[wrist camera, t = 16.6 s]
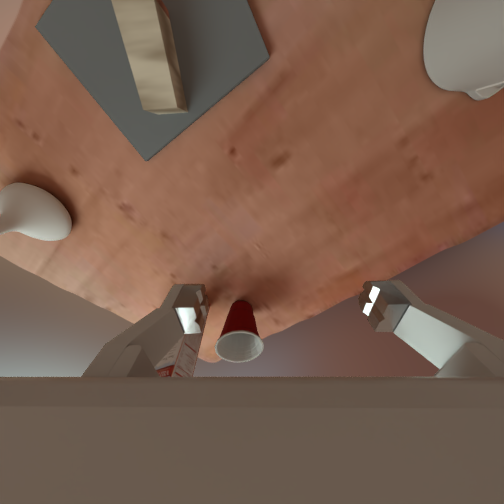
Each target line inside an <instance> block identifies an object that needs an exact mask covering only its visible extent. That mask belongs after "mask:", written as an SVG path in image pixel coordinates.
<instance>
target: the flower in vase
mask: <svg viewBox="0 0 504 504" xmlns="http://www.w3.org/2000/svg"><path fill="white" fill-rule="evenodd" d="M0 213H1V216H0V235H1V234H4V233H7V232H11V231H18V232H21V233H23V234H25V235H28V236H30V237H33V238H37V239H41V240H46V241H55V240H61V239H64V238H66V237H67V236H68V235H69V234H70V231H71V228H72V221H71V218H70V215H69V213H68V211H67V210H66V208H65V207H64V206H63V204H62V203H61V202H60V201H59V200H58V199H57V198H55V197H54V196H53V195H51V194H50V193H48V192H47V191H45V190H43V189H41V188H39V187H36V186H33V185H30V184H26V183H12V184H9V185H7V186H6V187H5V188H3V189H2V190H1V192H0Z"/></svg>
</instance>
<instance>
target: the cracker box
mask: <svg viewBox="0 0 504 504" xmlns="http://www.w3.org/2000/svg"><path fill="white" fill-rule="evenodd" d="M208 311H209V306H208ZM208 311H207V314H206V315H205V316H204V321H205V322H204V325H203V329H202V332H201V333H193V334H184V336H183V337H182V338H181V339H180V340H179V341H178V342H177V343H176V344H175V345H174V347H173V348H172V349H171V350H170V351H169V352H168V353H167V354H166V355H165V356H164V357H163V359H162V360H161V361H160V362H159V363H158V364H157V365H156V366H155V367H154V368H155V370H156V371H157V373H158V374H159V376H160V377H193V372H194V369H195V365H196V361H197V356H198V352H199V348H200V344H201V340H202V336H203V332H204V328H205V324H206V319H207V315H208Z"/></svg>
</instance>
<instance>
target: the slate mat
mask: <svg viewBox="0 0 504 504" xmlns="http://www.w3.org/2000/svg"><path fill="white" fill-rule="evenodd" d="M162 2H163V3H164V5H165V6H166V8H167V10H168V12H169V18H170V23H171V28H172V33H173V38H174V43H175V49H176V54H177V59H178V64H179V69H180V74H181V80H182V85H183V90H184V95H185V100H186V105H187V111H188V112H185V113H172V114H160V115H158V114H155V113H152V112H148V111H145V110H143V107H142V104H141V100H140V97H139V94H138V90H137V87H136V83H135V80H134V76H133V73H132V70H131V66H130V63H129V59H128V56H127V53H126V49H125V46H124V42H123V39H122V35H121V32H120V29H119V25H118V22H117V18H116V15H115V12H114V8H113V5H112V1H111V0H53V1H52V2H51V4H50V5H49V7H48V8H47V10H46V11H45V13H44V14H43V16H42V17H41V19H40V20H39V22H38V23H37V25H36V26H35V27H36V29H37V30H38V31H39V32H40V33H41V35H42V36H43V37H44V38H45V40H46V41H47V42H48V43H49V44H50V46H51V47H52V48H53V49H54V50H55V52H56V53H57V54H58V55H59V57H60V58H61V59H62V60H63V61H64V63H65V64H66V65H67V66H68V68H69V69H70V70H71V71H72V72H73V74H74V75H75V76H76V77H77V78H78V80H79V81H80V82H81V83H82V85H83V86H84V87H85V88H86V89H87V91H88V92H89V93H90V94H91V95H92V97H93V98H94V99H95V100H96V102H97V103H98V104H99V105H100V106H101V108H102V109H103V110H104V111H105V113H106V114H107V115H108V116H109V117H110V119H111V120H112V121H113V122H114V123H115V125H116V126H117V127H118V128H119V130H120V131H121V132H122V133H123V134H124V136H125V137H126V138H127V139H128V140H129V142H130V143H131V144H132V145H133V147H134V148H135V149H136V150H137V151H138V153H139V154H140V155H141V156H142V157H143V159H144V160H145V161H148V160H150V159H151V158H152V157H153V156H154V155H156V154H157V153H158V152H159V151H160V150H162V149H163V148H164V147H165V146H166V145H168V144H169V143H170V142H171V141H172V140H173V139H175V138H176V137H177V136H178V135H179V134H181V133H182V132H183V131H184V130H185V129H187V128H188V127H189V126H190V125H191V124H192V123H194V122H195V121H196V120H197V119H198V118H200V117H201V116H202V115H203V114H204V113H206V112H207V111H208V110H209V109H210V108H211V107H213V106H214V105H215V104H216V103H217V102H219V101H220V100H221V99H222V98H223V97H225V96H226V95H227V94H228V93H229V92H230V91H232V90H233V89H234V88H235V87H236V86H238V85H239V84H240V83H241V82H242V81H244V80H245V79H246V78H247V77H248V76H249V75H251V74H252V73H253V72H254V71H255V70H257V69H258V68H259V67H260V66H261V65H263V64H264V63H265V62H266V61H267V60H268V59H269V54H268V52H267V49H266V47H265V44H264V42H263V39H262V37H261V34H260V32H259V29H258V27H257V24H256V22H255V19H254V17H253V14H252V12H251V9H250V7H249V4H248V2H247V0H162Z"/></svg>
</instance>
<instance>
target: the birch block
mask: <svg viewBox="0 0 504 504" xmlns="http://www.w3.org/2000/svg"><path fill="white" fill-rule="evenodd" d="M111 1H112V5H113V8H114V12H115V15H116V18H117V22H118V25H119V29H120V32H121V35H122V39H123V42H124V46H125V49H126V53H127V56H128V59H129V63H130V66H131V70H132V73H133V76H134V80H135V83H136V87H137V90H138V94H139V97H140V100H141V104H142V107H143V110H145V111H148V112H152V113H155V114H158V115H160V114H172V113H185V112H188V111H187V105H186V100H185V95H184V90H183V85H182V80H181V74H180V69H179V64H178V59H177V54H176V49H175V43H174V38H173V33H172V28H171V23H170V18H169V12H168V10H167V8H166V6H165V5H164V3H163V2H162V0H111Z"/></svg>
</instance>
